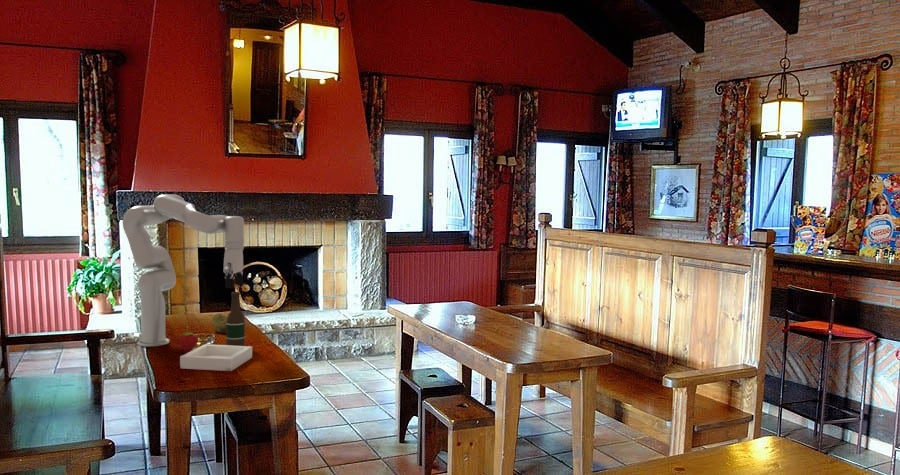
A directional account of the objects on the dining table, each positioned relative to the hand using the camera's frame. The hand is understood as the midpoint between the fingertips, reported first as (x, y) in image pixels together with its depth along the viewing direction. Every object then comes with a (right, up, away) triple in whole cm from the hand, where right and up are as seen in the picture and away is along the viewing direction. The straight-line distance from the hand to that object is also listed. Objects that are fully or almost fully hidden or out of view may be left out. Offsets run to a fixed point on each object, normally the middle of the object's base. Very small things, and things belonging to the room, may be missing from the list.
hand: (234, 286), depth 274 cm
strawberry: (-17, -27, -5) cm, 33 cm away
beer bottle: (-1, -27, +6) cm, 28 cm away
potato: (-18, -24, +35) cm, 46 cm away
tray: (0, -29, -18) cm, 34 cm away
